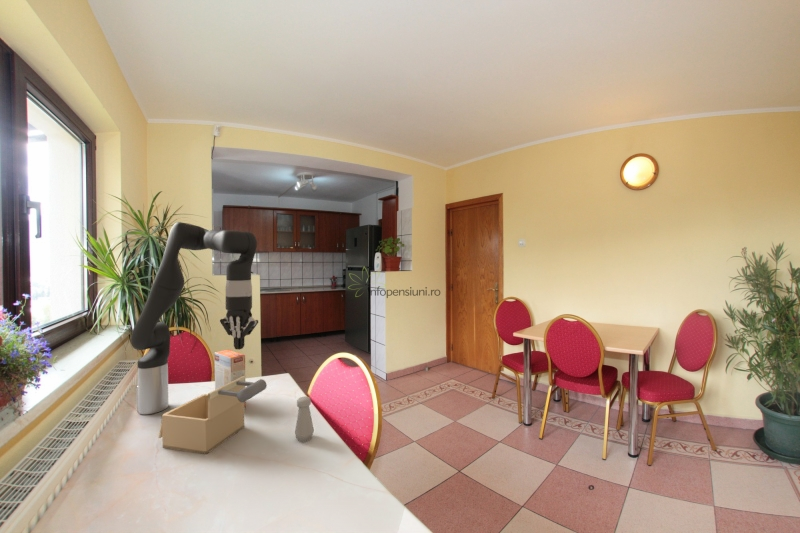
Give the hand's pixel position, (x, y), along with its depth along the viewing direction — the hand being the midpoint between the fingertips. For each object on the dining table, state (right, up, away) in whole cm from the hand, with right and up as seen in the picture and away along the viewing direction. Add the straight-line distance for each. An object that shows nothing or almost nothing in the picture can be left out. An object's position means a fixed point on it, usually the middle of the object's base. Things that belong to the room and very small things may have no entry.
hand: (239, 348), depth 102 cm
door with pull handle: (-4, -15, 0) cm, 15 cm away
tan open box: (-13, -29, +3) cm, 32 cm away
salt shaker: (+21, -29, +1) cm, 36 cm away
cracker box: (-16, -29, +25) cm, 41 cm away
